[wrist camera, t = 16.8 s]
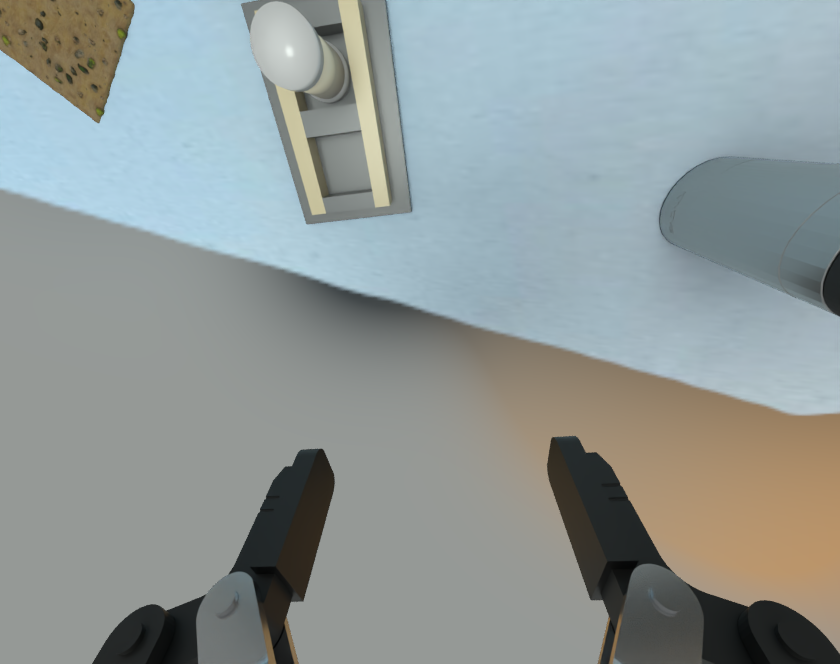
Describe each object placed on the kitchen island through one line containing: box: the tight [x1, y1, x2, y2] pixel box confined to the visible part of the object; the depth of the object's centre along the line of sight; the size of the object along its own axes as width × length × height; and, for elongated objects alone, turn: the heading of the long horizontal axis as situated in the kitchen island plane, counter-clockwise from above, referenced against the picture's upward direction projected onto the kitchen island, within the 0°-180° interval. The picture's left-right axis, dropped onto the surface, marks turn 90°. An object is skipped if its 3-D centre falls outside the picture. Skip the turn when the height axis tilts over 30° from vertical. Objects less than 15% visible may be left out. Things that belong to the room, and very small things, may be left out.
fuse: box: [250, 1, 351, 103], centre depth 24 cm, size 4×4×10 cm
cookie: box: [0, 0, 135, 123], centre depth 27 cm, size 12×12×1 cm
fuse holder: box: [241, 0, 412, 224], centre depth 30 cm, size 12×18×4 cm, turn 7°
